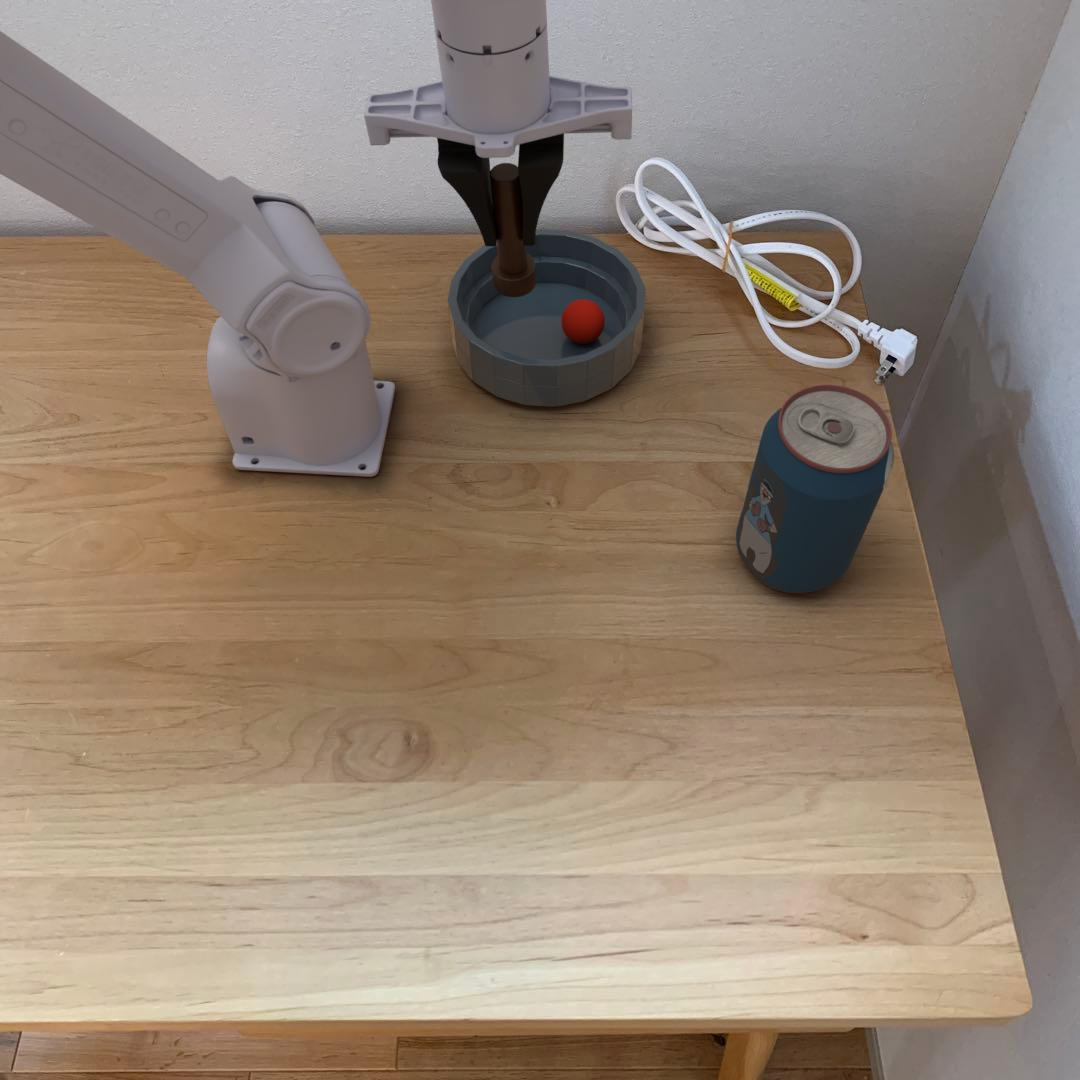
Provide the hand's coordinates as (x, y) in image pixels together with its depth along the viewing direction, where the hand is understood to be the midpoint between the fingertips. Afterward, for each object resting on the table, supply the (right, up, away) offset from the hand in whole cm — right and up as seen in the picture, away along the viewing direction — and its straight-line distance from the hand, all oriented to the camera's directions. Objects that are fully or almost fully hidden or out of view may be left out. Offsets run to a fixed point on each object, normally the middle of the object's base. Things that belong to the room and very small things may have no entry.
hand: (510, 235), depth 63 cm
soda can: (+17, -20, -1) cm, 26 cm away
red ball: (+5, -4, +7) cm, 10 cm away
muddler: (0, -2, +3) cm, 4 cm away
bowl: (+2, -5, +9) cm, 11 cm away
